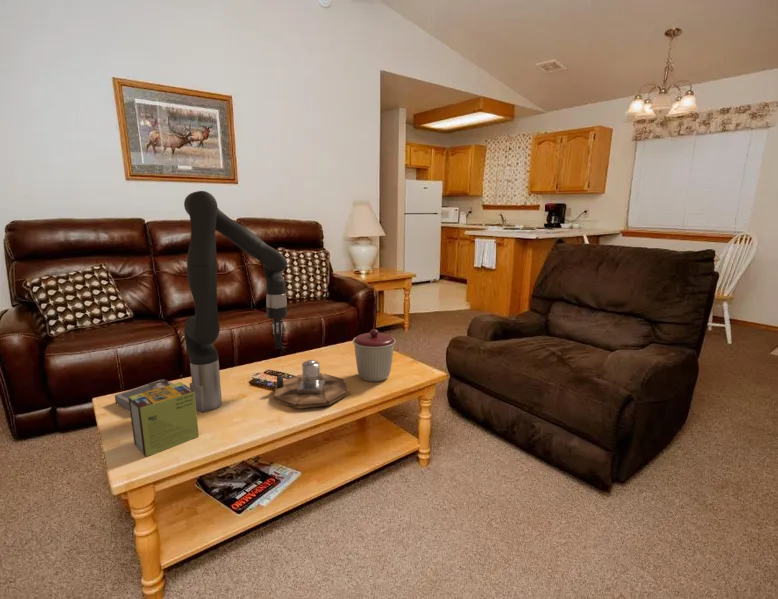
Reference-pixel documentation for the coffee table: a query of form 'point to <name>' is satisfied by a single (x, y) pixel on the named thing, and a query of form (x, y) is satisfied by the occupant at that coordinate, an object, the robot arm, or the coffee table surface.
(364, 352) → the canister
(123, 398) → the chock frame
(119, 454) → the coffee table surface
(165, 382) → the caster wheel
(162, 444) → the protein box
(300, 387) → the silver post on plate
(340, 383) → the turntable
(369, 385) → the coffee table surface
